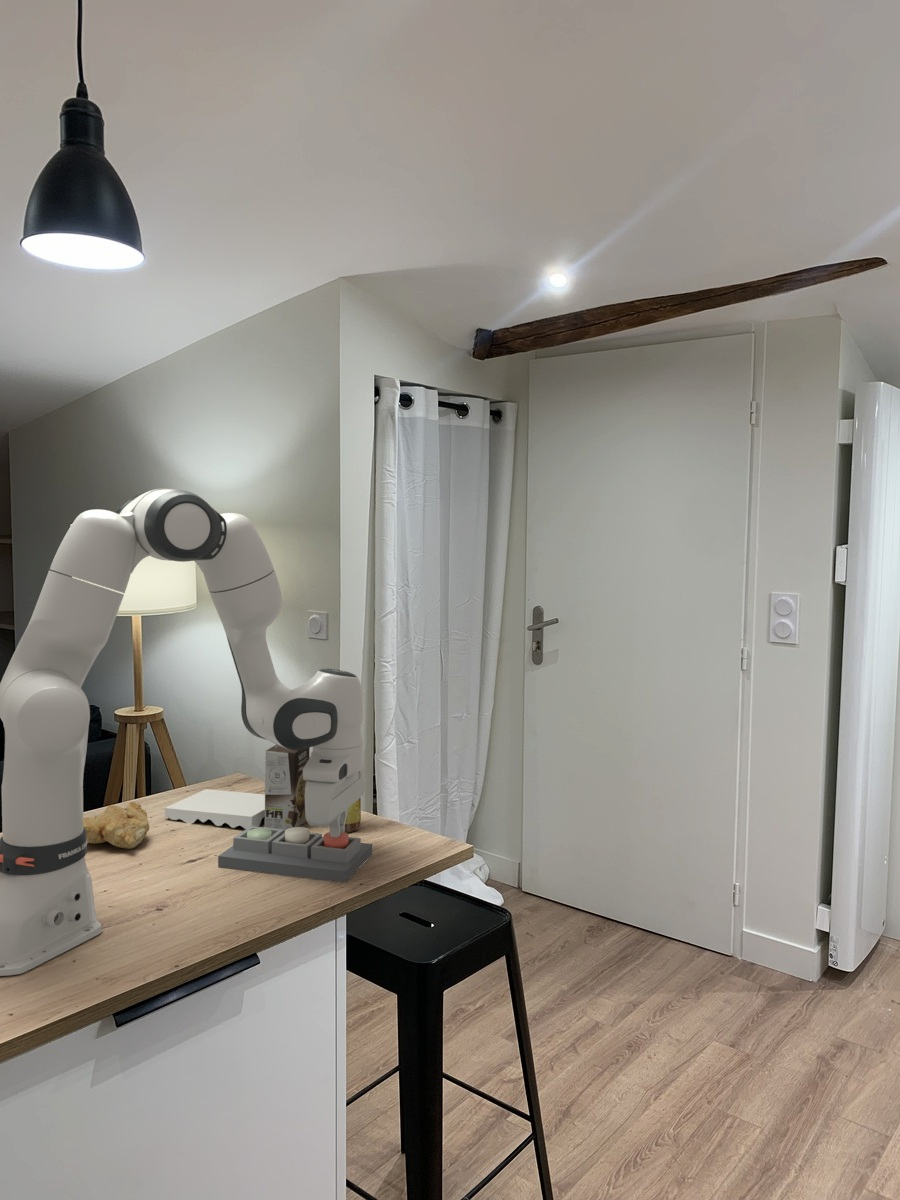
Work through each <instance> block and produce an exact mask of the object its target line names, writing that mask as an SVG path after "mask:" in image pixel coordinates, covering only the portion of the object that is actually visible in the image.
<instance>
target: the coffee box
mask: <svg viewBox="0 0 900 1200" xmlns="http://www.w3.org/2000/svg"><path fill="white" fill-rule="evenodd" d="M310 748H311V747H310ZM310 748H306V749H302V750H289V749H286V748H283V747H281V746H279V745H277V744H275V745H273V746H271V747H270V748H268V749H265V763H264V764H265V768H264V769H265V770H264V772H265V773H264V794H265V816H264V828H273V829H282V830H284V832H285V830H287V829H289V828H293V827H301V826H302V825H303V824H304V823H305V822H307V820H306V814H305V786H306V783H307V781H308V780H304V779H303V768H304V767H305V765H306V764H307V762H308V760H309V758H310Z"/></svg>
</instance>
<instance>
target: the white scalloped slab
mask: <svg viewBox="0 0 900 1200" xmlns="http://www.w3.org/2000/svg"><path fill="white" fill-rule="evenodd" d="M164 818H165V819H166V818H169V819H170V820H172V821H178V820H181V821H183V822H184V823H185V822H187V823H186V824H188V823H193V824H194V823H195V822H196V821H197V820H199V821H200V822H201V823H205V822H207V821H208V820H210V821H211V822H212V823H213V824H214V826H216V827H221V826H222V825H223V824H226V825H229V827H230V828H232V829H236V828H237V827H238V826H239V827H242V828H243V829H244V830H246V829H247V828H248V827H250V826H255V827H261V826H260V825H261V823H262V820H263V819H265V793H263V794H262V793H254V792H252V793H251V792H241V791H232V790H231V791H230V790H222V789H221V790H220V789H210V788H209V789H208V788H204V789H203V790H201V791H198V792H196V793H194V794H193V795H189V796H188V797H186V798H183V799H181V800H178V801H177V802H175V803H172V804H170V805H169V806H165V807H164Z"/></svg>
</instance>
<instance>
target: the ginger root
mask: <svg viewBox="0 0 900 1200" xmlns="http://www.w3.org/2000/svg"><path fill="white" fill-rule="evenodd" d="M83 827H84V828H85V829H86V835H87V840H88V844H92V843H93V844H94V845H95V844H103V843H106V842H107V843H108V844H110V845H112V846H114V847H116V848H121V849H126V850H127V849H131V850H132V849H134V848H136V847H137V846H138V845H139V844H141V842H143V839H144V838H145V837H146V835H147V833H148V832H149V831H150V823H149V820H148V812H147V811H146V810H144V809H143V808H142V805H141V803H140V802H139V803H136V801H129V803H128V805H127V807H126V811H125V809H124V808H122V806H119V805H112V804H111V805H108V806H107V807H106V808H105V810H104V812H103V813H100V814H98V815H95V816H94V817H85V818H84V817H83Z"/></svg>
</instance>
